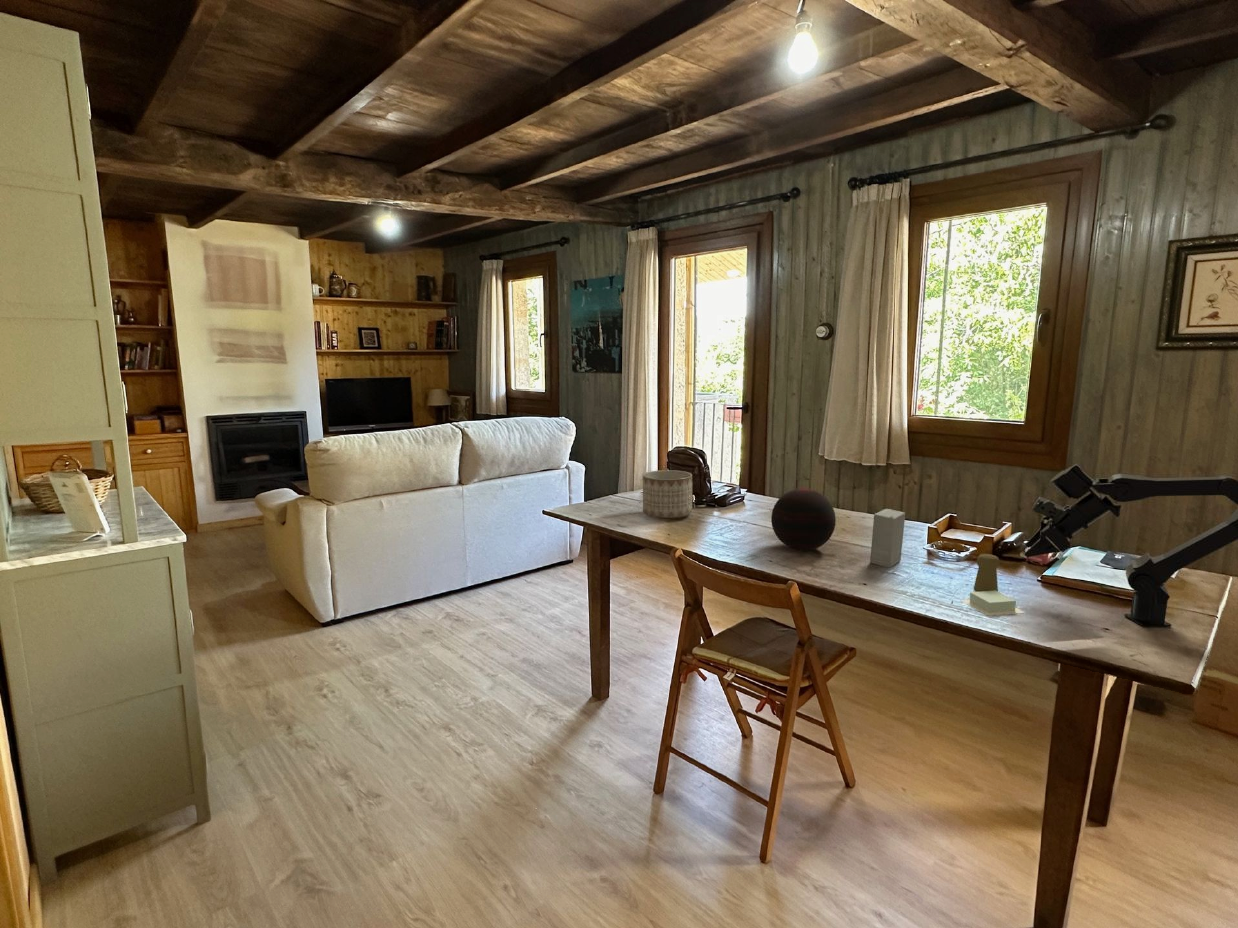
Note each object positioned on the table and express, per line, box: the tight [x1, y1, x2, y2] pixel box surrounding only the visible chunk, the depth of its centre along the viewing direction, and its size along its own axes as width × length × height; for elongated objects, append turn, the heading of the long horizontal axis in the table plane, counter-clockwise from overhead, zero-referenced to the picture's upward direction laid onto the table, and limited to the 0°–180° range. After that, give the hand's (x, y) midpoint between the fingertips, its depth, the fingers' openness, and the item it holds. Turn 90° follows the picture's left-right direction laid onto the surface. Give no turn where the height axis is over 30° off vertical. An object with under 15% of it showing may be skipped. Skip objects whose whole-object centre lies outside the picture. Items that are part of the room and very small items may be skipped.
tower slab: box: [960, 598, 1026, 616], centre depth 164 cm, size 10×10×2 cm
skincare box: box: [869, 508, 906, 568], centre depth 200 cm, size 8×7×16 cm
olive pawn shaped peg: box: [973, 553, 1000, 592], centre depth 174 cm, size 6×6×11 cm
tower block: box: [969, 590, 1017, 613], centre depth 163 cm, size 7×7×2 cm
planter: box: [642, 469, 693, 520], centre depth 261 cm, size 19×19×16 cm
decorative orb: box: [770, 488, 837, 552], centre depth 214 cm, size 20×20×20 cm
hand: (1026, 550), depth 168 cm, fingers open, 9 cm apart
